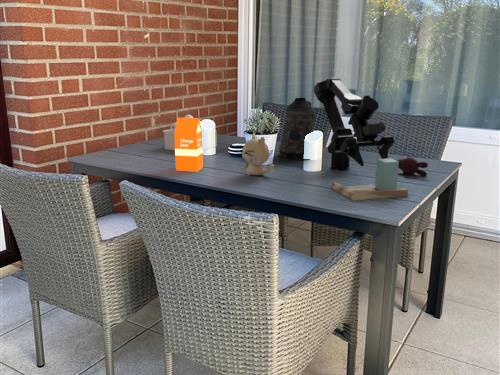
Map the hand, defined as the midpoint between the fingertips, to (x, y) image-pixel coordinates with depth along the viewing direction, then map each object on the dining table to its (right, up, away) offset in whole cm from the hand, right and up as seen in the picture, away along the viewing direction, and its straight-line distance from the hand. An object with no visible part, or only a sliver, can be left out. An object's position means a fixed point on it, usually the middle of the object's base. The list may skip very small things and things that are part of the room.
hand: (374, 165), depth 171 cm
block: (+2, -8, -6) cm, 10 cm away
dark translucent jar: (-22, +6, +50) cm, 55 cm away
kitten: (-41, -3, +16) cm, 44 cm away
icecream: (+17, -3, +18) cm, 24 cm away
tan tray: (-4, -10, -7) cm, 12 cm away
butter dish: (-71, +11, +65) cm, 97 cm away
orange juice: (-67, -1, +25) cm, 71 cm away
